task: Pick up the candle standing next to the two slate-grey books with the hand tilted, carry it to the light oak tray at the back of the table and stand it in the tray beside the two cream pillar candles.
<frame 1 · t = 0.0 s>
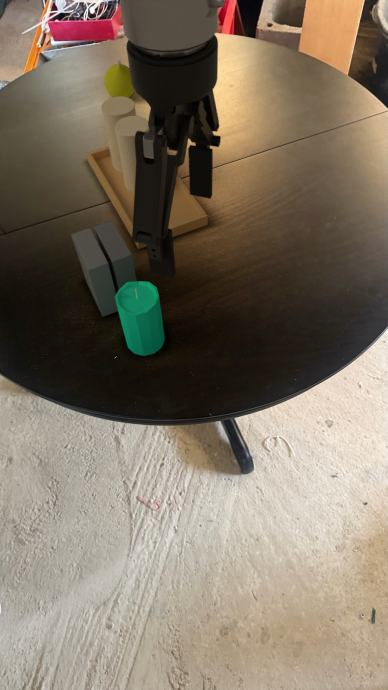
hand: (183, 231, 56), 21 cm above the table, tool pointing down, fingers open, 13 cm apart
candle: (145, 339, 73), on the table
grey book 1: (103, 296, 78), on the table
tray: (144, 191, 92), on the table
grey book 2: (123, 288, 79), on the table
cream candle a: (127, 162, 96), point 1 cm above the table, touching tray
ornament: (122, 98, 110), on the table
cream candle b: (140, 183, 92), point 1 cm above the table, touching tray
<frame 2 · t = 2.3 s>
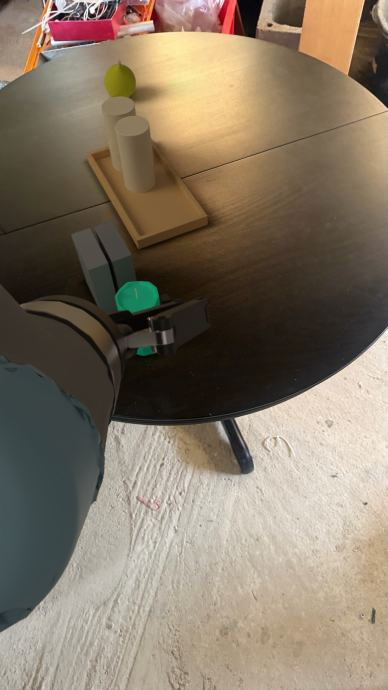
hand: (96, 317, 46), 24 cm above the table, tool tilted 45°, fingers open, 13 cm apart
nothing on the table moved.
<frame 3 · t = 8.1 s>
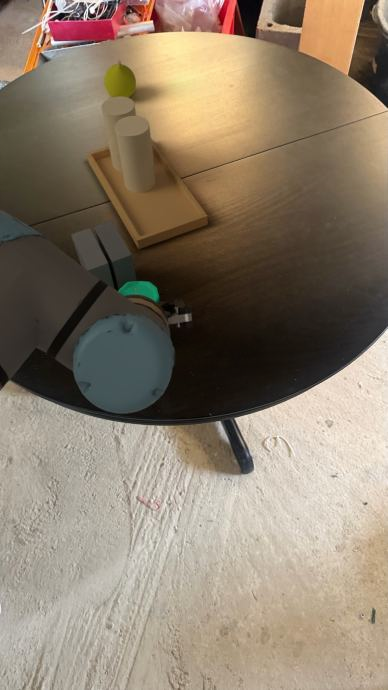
hand: (141, 306, 72), 3 cm above the table, tool tilted 45°, fingers closed on candle, 5 cm apart
candle: (145, 339, 73), on the table, touching gripper
everything else where it was.
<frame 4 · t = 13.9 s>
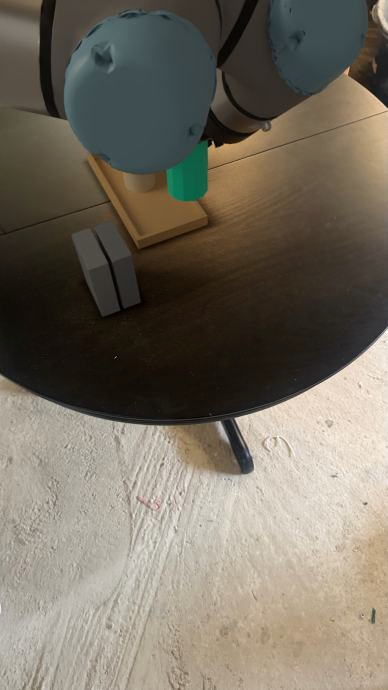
hand: (174, 153, 68), 18 cm above the table, tool tilted 45°, fingers closed on candle, 5 cm apart
candle: (187, 189, 70), point 15 cm above the table, touching gripper
everything else where it was.
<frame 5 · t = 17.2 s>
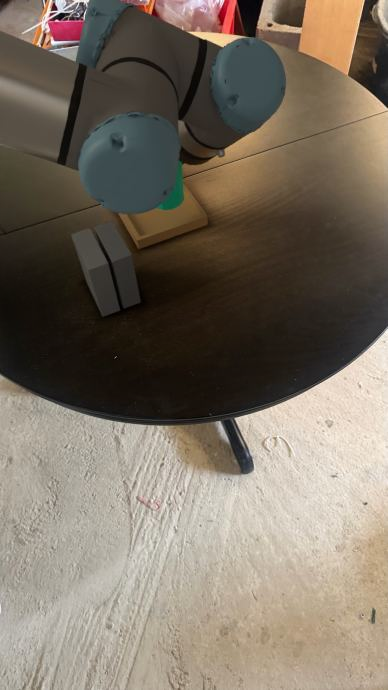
hand: (155, 168, 80), 10 cm above the table, tool tilted 45°, fingers closed on candle, 5 cm apart
candle: (166, 199, 81), point 6 cm above the table, touching gripper
everything else where it was.
when the fingers open (4 cm above the table, at t = 19.6 s): candle stays where it is, resting on tray.
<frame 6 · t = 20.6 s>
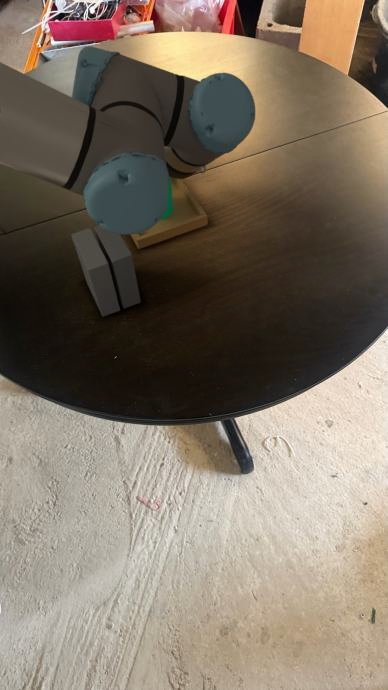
hand: (148, 176, 84), 6 cm above the table, tool tilted 45°, fingers open, 13 cm apart
candle: (157, 210, 88), resting on tray
everything else where it was.
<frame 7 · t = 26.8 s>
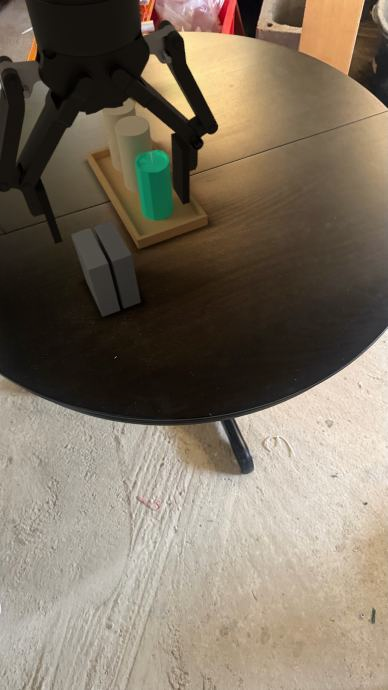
hand: (120, 214, 49), 27 cm above the table, tool pointing down, fingers open, 13 cm apart
nothing on the table moved.
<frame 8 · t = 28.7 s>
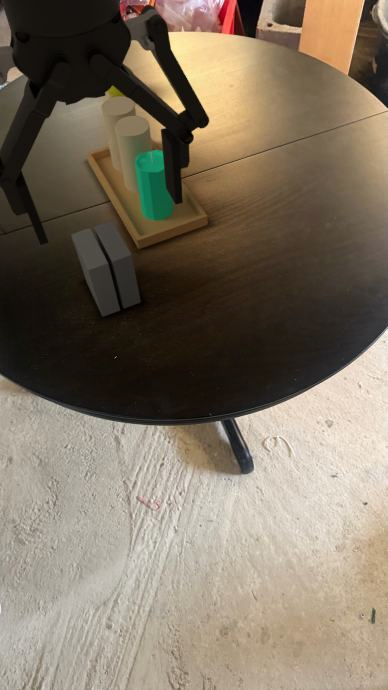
hand: (109, 214, 46), 29 cm above the table, tool pointing down, fingers open, 13 cm apart
nothing on the table moved.
at the end: candle inside the target area in the tray (0.4 cm from its centre), point 0.4 cm above the tray's base; candle tilted 0°; the gripper is holding nothing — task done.
